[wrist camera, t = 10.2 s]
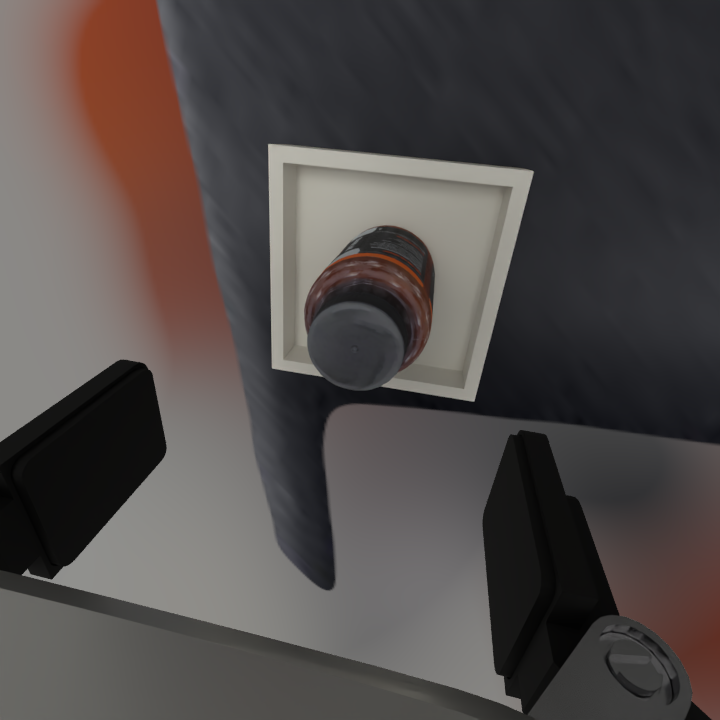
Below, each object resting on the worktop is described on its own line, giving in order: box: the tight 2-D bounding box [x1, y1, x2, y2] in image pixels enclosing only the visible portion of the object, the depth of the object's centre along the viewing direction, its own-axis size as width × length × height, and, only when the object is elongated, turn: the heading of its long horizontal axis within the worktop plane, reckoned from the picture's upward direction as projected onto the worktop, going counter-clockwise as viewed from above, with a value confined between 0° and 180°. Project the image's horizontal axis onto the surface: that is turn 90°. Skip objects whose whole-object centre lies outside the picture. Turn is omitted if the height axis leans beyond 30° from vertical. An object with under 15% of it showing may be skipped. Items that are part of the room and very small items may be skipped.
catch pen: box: [268, 144, 534, 402], centre depth 26 cm, size 14×14×3 cm
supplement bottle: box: [304, 225, 435, 391], centre depth 21 cm, size 6×6×11 cm
